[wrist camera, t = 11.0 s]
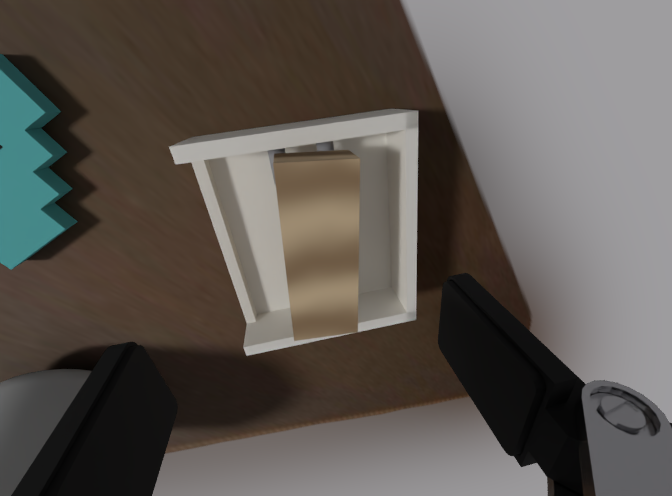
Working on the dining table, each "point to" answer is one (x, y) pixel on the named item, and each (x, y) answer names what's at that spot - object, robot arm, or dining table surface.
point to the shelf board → (320, 239)
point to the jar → (32, 417)
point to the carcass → (264, 222)
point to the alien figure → (27, 170)
